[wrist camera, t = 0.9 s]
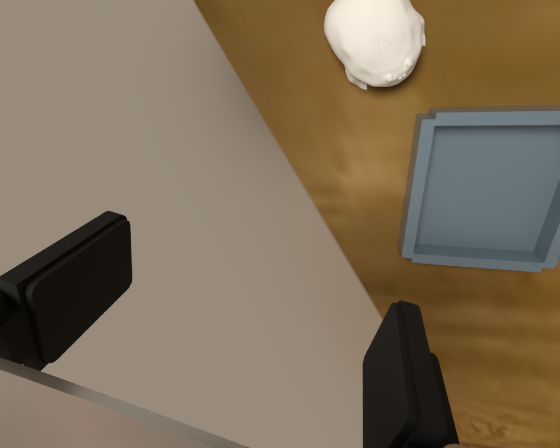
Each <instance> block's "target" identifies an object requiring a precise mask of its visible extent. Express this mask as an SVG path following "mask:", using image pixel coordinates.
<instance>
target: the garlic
mask: <svg viewBox="0 0 560 448" xmlns="http://www.w3.org/2000/svg"><path fill="white" fill-rule="evenodd" d="M424 27H425V22H424V19H423V17H422V16H421V15H420V14H419V13H418V12H416V11H415V9H414V8H413V6H412V4H411V2H410V0H335V1H334V2H333V3H332V4H331V5H330V7H329V8H328V10H327V13H326V16H325V22H324V31H325V35H326V37H327V40H328V42H329V44H330V46H331V48H332V49H333V51H334V53H335V54H336V56H337V57H338V58H339V60H340V61H341V62H342V63H343V64H344V66H345V72H346V75H347V78H348V80H349V81H350V82H351V83H353V84H355V85H357V86H359V87H360V88H362V89H365V90H367V84H368V85H370V86H374V87H389V86H393V85H396V84H398V83H400V82H401V81H403V80H404V79H405V78H407V77H408V76H409V75H410V73H411V72H412V71H413V69H414V67H415V65H416V62H417V60H418V57H419V55H420V52H421V48H422V45H423V46H426V45H425V34H424Z"/></svg>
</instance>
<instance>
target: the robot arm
mask: <svg viewBox="0 0 560 448" xmlns="http://www.w3.org/2000/svg"><path fill="white" fill-rule="evenodd" d="M131 283H132V259H131V232H130V222H129V221H127V218H126V216H124V215H121V214H118V213H114V212H111V211H107V212H104V213H103V214H101V215H100V216H98V217H96V218H95V219H93V220H91V221H90V222H88V223H87V224H85V225H83V226H82V227H80V228H78V229H77V230H75V231H74V232H72V233H70V234H69V235H67V236H65V237H64V238H62V239H60V240H59V241H57V242H56V243H54V244H52V245H51V246H49V247H47V248H46V249H44V250H42V251H41V252H39V253H37V254H36V255H34V256H33V257H31V258H29V259H28V260H26V261H24V262H23V263H21V264H19V265H18V266H16V267H15V268H13V269H11V270H10V271H8V272H6V273H5V274H3V275H1V276H0V448H248V447H246V446H243V445H240V444H238V443H235V442H233V441H230V440H227V439H225V438H222V437H219V436H216V435H214V434H211V433H208V432H206V431H203V430H200V429H198V428H195V427H192V426H189V425H187V424H184V423H181V422H179V421H176V420H173V419H170V418H167V417H165V416H162V415H159V414H157V413H154V412H151V411H149V410H146V409H143V408H140V407H138V406H135V405H132V404H129V403H126V402H124V401H121V400H118V399H115V398H113V397H110V396H107V395H105V394H102V393H99V392H96V391H94V390H91V389H88V388H85V387H83V386H80V385H77V384H74V383H71V382H69V381H66V380H63V379H60V378H58V377H55V376H52V375H49V374H46V373H44V372H41V370H42V369H43V368H44V367H45V366H46V365H47V364H48V363H53V362H55V361H56V360H57V359H58V358H59V357H60V356H61V355H62V354H63V353H64V352H65V351H66V350H67V349H68V348H69V347H70V346H71V345H72V344H73V343H74V342H75V341H76V340H77V339H78V338H79V337H80V336H81V335H82V334H83V333H84V332H85V331H86V330H87V329H88V328H89V327H90V326H91V325H92V324H93V323H94V322H95V321H96V320H97V319H98V318H99V317H100V316H101V315H102V314H103V313H104V312H105V311H106V310H107V309H108V308H109V307H110V306H111V305H112V304H113V303H114V302H115V301H116V300H117V299H118V298H119V297H120V296H121V295H122V294H123V293H124V292H125V291H126V290H127V289H128V288H129V287H130V285H131ZM22 364H23V365H22ZM363 448H467V447H465V446H462V445H460V444H459V440H458V436H457V432H456V428H455V424H454V420H453V416H452V412H451V408H450V404H449V400H448V396H447V393H446V389H445V385H444V381H443V377H442V373H441V369H440V365H439V361H438V358H437V356H436V355H435V354H433V353H430V350H429V346H428V342H427V337H426V333H425V329H424V324H423V320H422V316H421V311H420V308H419V306H418V305H415V304H412V303H409V302H405V301H402V300H400V301H399V302H398V303H392V304H391V306H390V308H389V309H388V311H387V313H386V315H385V317H384V319H383V321H382V323H381V325H380V327H379V329H378V331H377V333H376V335H375V337H374V339H373V341H372V343H371V345H370V347H369V349H368V350H367V352H366V354H365V357H364V361H363Z"/></svg>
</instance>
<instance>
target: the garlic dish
mask: <svg viewBox="0 0 560 448" xmlns="http://www.w3.org/2000/svg"><path fill="white" fill-rule="evenodd" d="M398 244H399V248H400V253H401V257H402V258H411V262H412V263H422V264H435V265H448V266H461V267H475V268H488V269H501V270H514V271H528V272H541V270H542V268H551V269H555V268H556V265H557V263H558V260H559V258H560V106H507V107H450V108H430V110H429V114H416V122H415V129H414V136H413V143H412V150H411V157H410V164H409V171H408V179H407V186H406V193H405V200H404V207H403V214H402V221H401V229H400V236H399V243H398Z"/></svg>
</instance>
